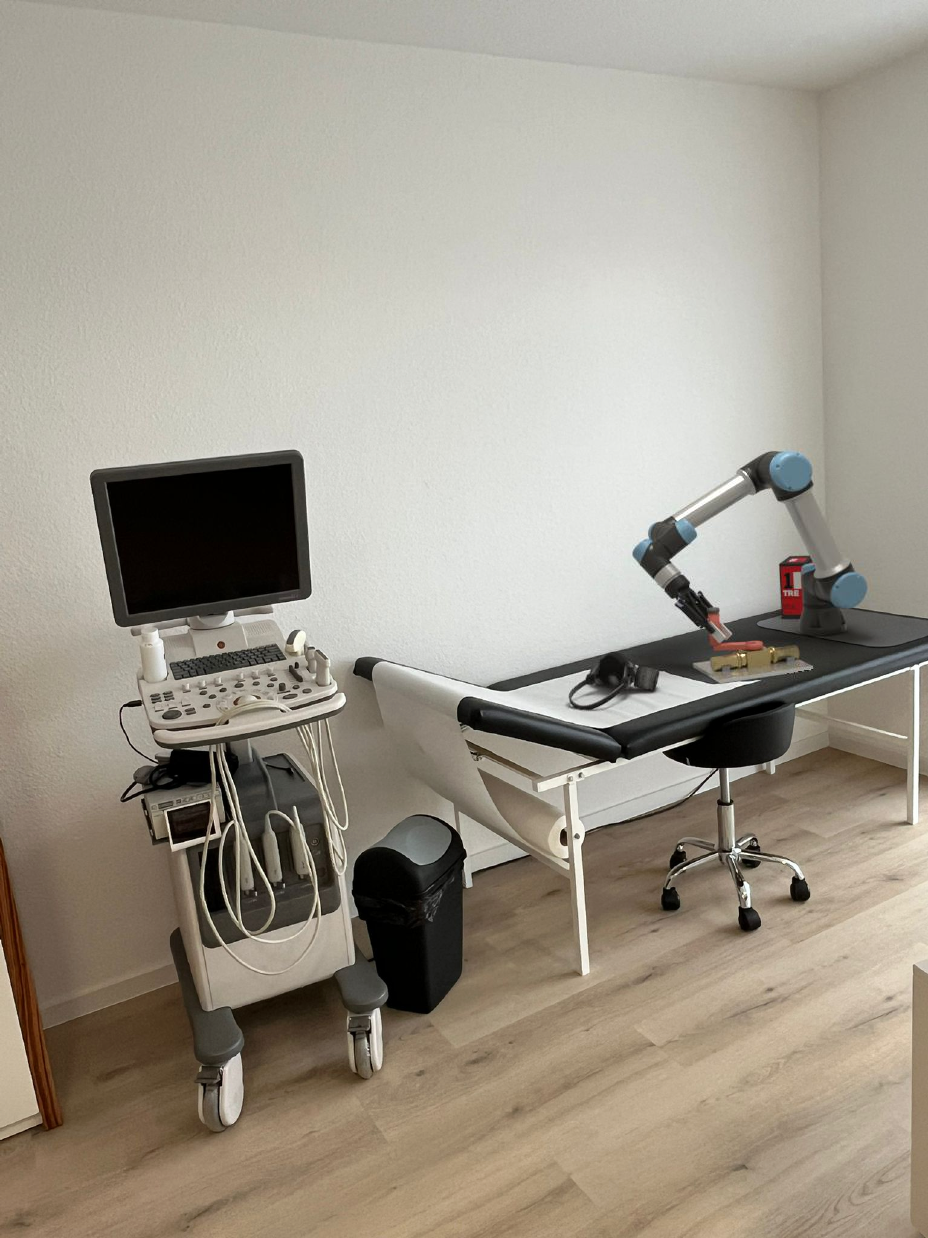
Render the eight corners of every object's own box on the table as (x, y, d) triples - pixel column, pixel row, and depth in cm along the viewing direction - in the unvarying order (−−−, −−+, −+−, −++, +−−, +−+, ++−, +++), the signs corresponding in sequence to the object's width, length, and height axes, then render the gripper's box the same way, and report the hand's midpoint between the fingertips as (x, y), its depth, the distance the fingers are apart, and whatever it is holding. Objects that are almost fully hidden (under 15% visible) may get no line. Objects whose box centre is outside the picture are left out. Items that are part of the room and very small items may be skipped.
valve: (779, 654, 302) (778, 635, 301) (812, 669, 281) (812, 649, 280) (693, 667, 298) (691, 648, 297) (720, 683, 278) (719, 663, 277)
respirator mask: (669, 675, 281) (646, 640, 271) (639, 745, 271) (614, 712, 261) (604, 668, 296) (580, 635, 286) (572, 735, 286) (547, 703, 276)
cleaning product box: (792, 609, 362) (789, 556, 358) (817, 609, 358) (814, 555, 354) (781, 619, 348) (779, 563, 345) (807, 619, 344) (805, 563, 340)
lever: (762, 645, 290) (760, 604, 288) (763, 649, 285) (761, 607, 283) (709, 647, 294) (707, 607, 292) (709, 651, 289) (706, 610, 287)
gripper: (679, 584, 304) (731, 640, 296) (651, 595, 293) (704, 653, 285) (693, 568, 300) (746, 624, 292) (665, 578, 288) (720, 637, 280)
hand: (725, 638), depth 288 cm, fingers closed on lever, 3 cm apart
